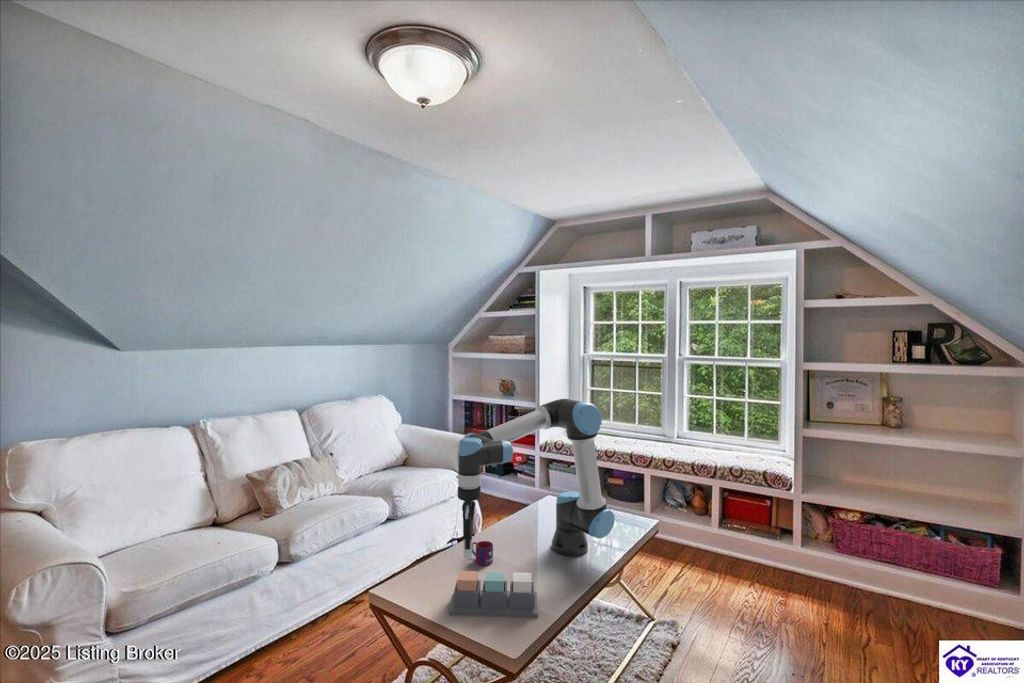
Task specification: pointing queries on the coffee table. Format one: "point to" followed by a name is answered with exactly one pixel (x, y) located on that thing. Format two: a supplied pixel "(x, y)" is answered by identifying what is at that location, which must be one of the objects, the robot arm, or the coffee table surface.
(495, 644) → the coffee table surface
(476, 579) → the terracotta key
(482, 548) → the mug
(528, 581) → the ivory key
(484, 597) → the console
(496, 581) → the teal key
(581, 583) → the coffee table surface
